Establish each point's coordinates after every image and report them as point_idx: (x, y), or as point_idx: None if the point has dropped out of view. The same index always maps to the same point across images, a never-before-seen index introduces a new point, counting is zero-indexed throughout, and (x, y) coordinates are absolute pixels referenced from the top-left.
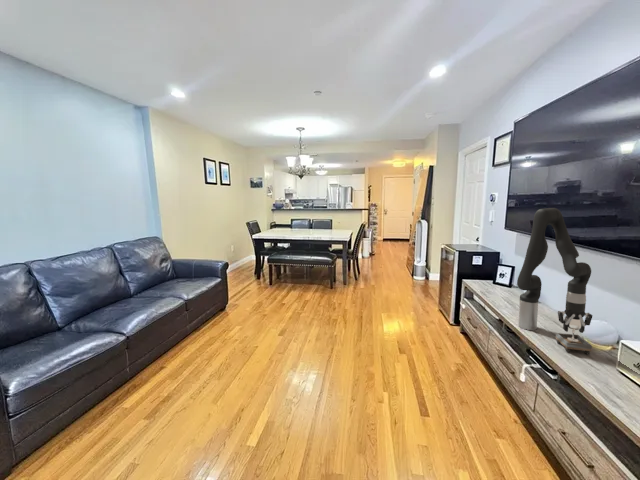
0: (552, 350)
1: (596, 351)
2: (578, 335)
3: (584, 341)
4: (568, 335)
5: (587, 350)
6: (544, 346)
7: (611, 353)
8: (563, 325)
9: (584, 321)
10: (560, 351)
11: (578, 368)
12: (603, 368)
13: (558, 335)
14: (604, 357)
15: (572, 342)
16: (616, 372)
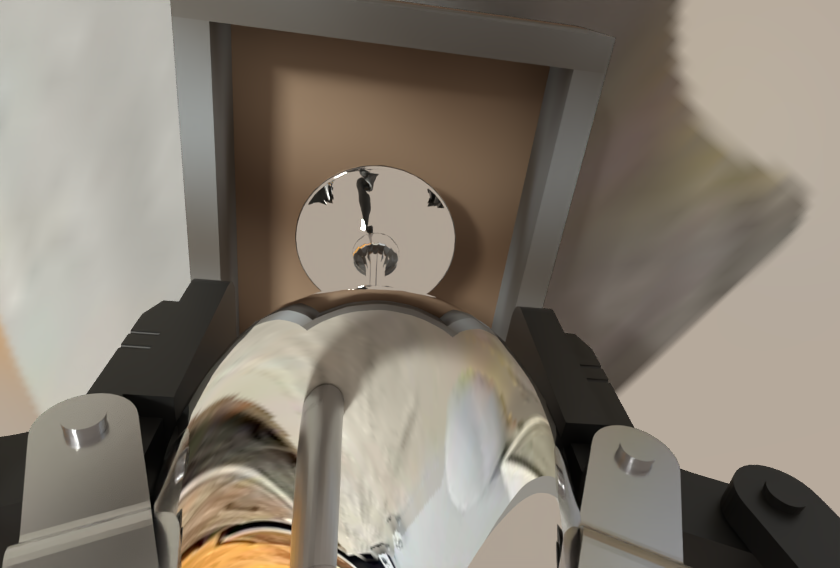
0: (89, 269)
1: (640, 222)
2: (593, 75)
3: (514, 303)
4: (414, 44)
5: None
6: (8, 165)
7: (774, 250)
8: (107, 377)
9: (763, 532)
10: (182, 282)
11: None
12: None
13: (180, 112)
14: (602, 348)
15: None
16: None
